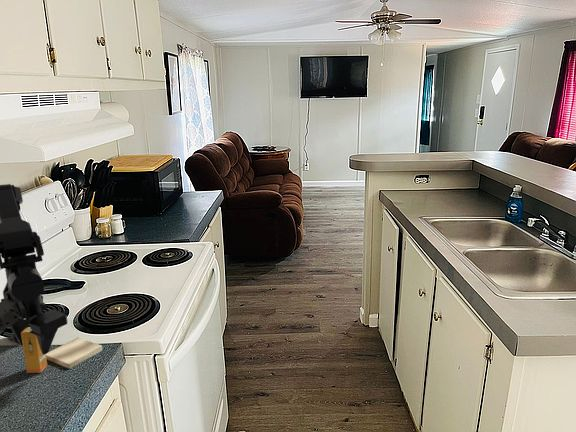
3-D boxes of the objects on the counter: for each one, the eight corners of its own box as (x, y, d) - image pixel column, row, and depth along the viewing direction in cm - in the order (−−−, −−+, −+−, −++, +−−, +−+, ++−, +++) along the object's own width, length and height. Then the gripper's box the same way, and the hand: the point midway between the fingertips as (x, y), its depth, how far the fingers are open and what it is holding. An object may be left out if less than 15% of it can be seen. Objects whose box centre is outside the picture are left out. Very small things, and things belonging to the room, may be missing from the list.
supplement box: (48, 364, 103) (42, 325, 101) (41, 373, 100) (34, 333, 97) (34, 365, 103) (27, 325, 101) (26, 373, 100) (19, 333, 97)
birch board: (45, 358, 105) (44, 354, 105) (78, 341, 113) (77, 337, 113) (69, 368, 101) (69, 364, 101) (102, 350, 109) (102, 345, 109)
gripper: (-41, 290, 94) (-27, 356, 98) (11, 308, 85) (24, 379, 89) (12, 273, 103) (22, 334, 107) (64, 287, 95) (73, 353, 98)
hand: (34, 349), depth 100 cm, fingers open, 8 cm apart
